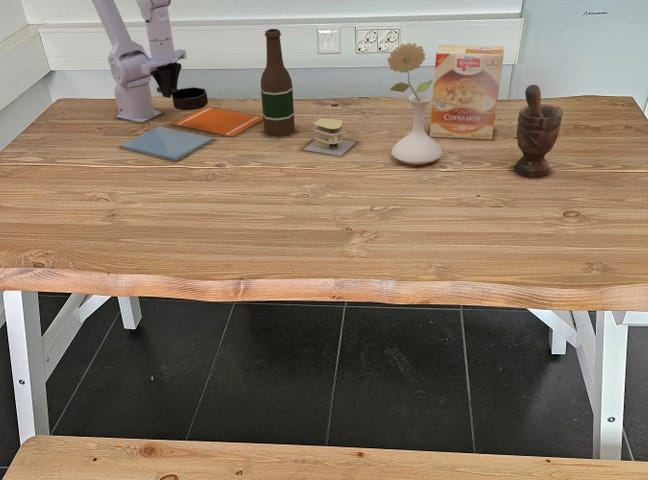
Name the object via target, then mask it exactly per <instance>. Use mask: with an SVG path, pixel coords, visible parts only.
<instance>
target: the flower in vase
mask: <svg viewBox="0 0 648 480" xmlns="http://www.w3.org/2000/svg"><path fill="white" fill-rule="evenodd" d="M425 60H426V53H425V52H424V49H423V45H417V43H416V42H413V43H411V42H407V43H406V44H405V43H401V44H400V45H399V46H396V47H395V48H394V49H393V50H392V51H391V52H390V54H389V57H387V62H388V66H389V68H390V70H392V71H394V72H399V73H400V74H401V73H406V74H407V82H408V83H405V82H402V81H401V82H398V83H395V84H394V85H392V86H391V88H389V91H391V92H399V93H404V92H406V91H407V90H408V88H410V90H411V91H412V92H413V94H412V95H409V96H408V98H407V99H408V101H409V102H410V105H411V107H412V114H413V115H412V116H413V122H412V123H413V124H412V129H411V131H410V132H409V133H408V134H407V135H406V136H404V137H403V138H401V139H400V140H399V141H397V142H396V143H395V144H394V145H393V147H392V149H391V155H392V157H393V159H395V160H396V161H398V162H400V163H404V164H408V165H426V164H431V163H433V162H436V161H437V160H439V159H440V157H441V156H442V155H443V150H442V147H441V146H440V145H439V143H438V142H437V141H436V140H434V139H433V137H430V135H429V134H427V133H426V131H425V128H424V121H425V114H426V110H427V107H428V105H429V104H430V102H431V101H432V100H433V97H432V96H431V95H428V94H425V93H424V94H423V92H425V91H427V90H428V89H429V88H430V86H432V83H433V81H434V78H432V79H430V80H428V81H425V82H423V83H420V84H418V86H417V87H416V90H414V87H413V86H412V84H411V81H410V72H412V71H414V70H416V69H419V68H420V67H421V65H422V64H423V62H424V61H425Z"/></svg>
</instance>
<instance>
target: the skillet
mask: <svg viewBox="0 0 648 480" xmlns="http://www.w3.org/2000/svg"><path fill="white" fill-rule="evenodd" d="M156 92H157V93H160V94H162V92H161V90H160V88H159V86H158V87H156ZM171 99H172V104H173V107H174V109H176V110H178V111H197V110H200V109H202V108H204V107H207V105H208V104H209V101H208V93H207V90H206V89H205V88H202V87H201V88H200V87H195V86H192V87H184V88H177V89H175V88H171Z"/></svg>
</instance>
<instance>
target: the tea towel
mask: <svg viewBox="0 0 648 480" xmlns="http://www.w3.org/2000/svg"><path fill="white" fill-rule="evenodd" d="M262 120H263V116H255V115H250V114H245V113H241V112H234V111H229V110H224V109H219V108H214V107H208V106H205V107H203V108H200V109H197V110H195V111H194V112H192V113H190V114H189V115H186V116H184V117H182V118H180V119H178V120H176V121H174V122H172V125H177V126H181V127H186V128H191V129H196V130H201V131H205V132H209V133H210V132H211V133H215V134H220V135H224V136H229V137H234V136H236V135H237V134H239V133H240V132H242V131H245V130H246V129H248V128H249V127H251V126H253V125H255V124H257V123H258V122H260V121H262Z"/></svg>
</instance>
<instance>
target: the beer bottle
mask: <svg viewBox="0 0 648 480" xmlns="http://www.w3.org/2000/svg"><path fill="white" fill-rule="evenodd" d="M281 35H282V33H281V31H280V30H279V29H278V28H269V29H267V30H265V31H264V36H265V39H266V40H265V41H266V44H265V45H266V62H265V64H266V65H265V68H264V70H263V72H262V74H261V78H260V95H261V107H262V118H263V119H262V120H263V129H264V132H265V134H266V135H267V136H269V137H275V138H279V137H280V138H281V137H287V136H290V135H291V134H293V133H294V132H295V110H294V109H295V108H294V107H295V106H294V89H293V88H294V87H293V81H292V77H291V75H290V72H289V71H288V69H286V67H285V63H284V60H283V51H282V45H281Z"/></svg>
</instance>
